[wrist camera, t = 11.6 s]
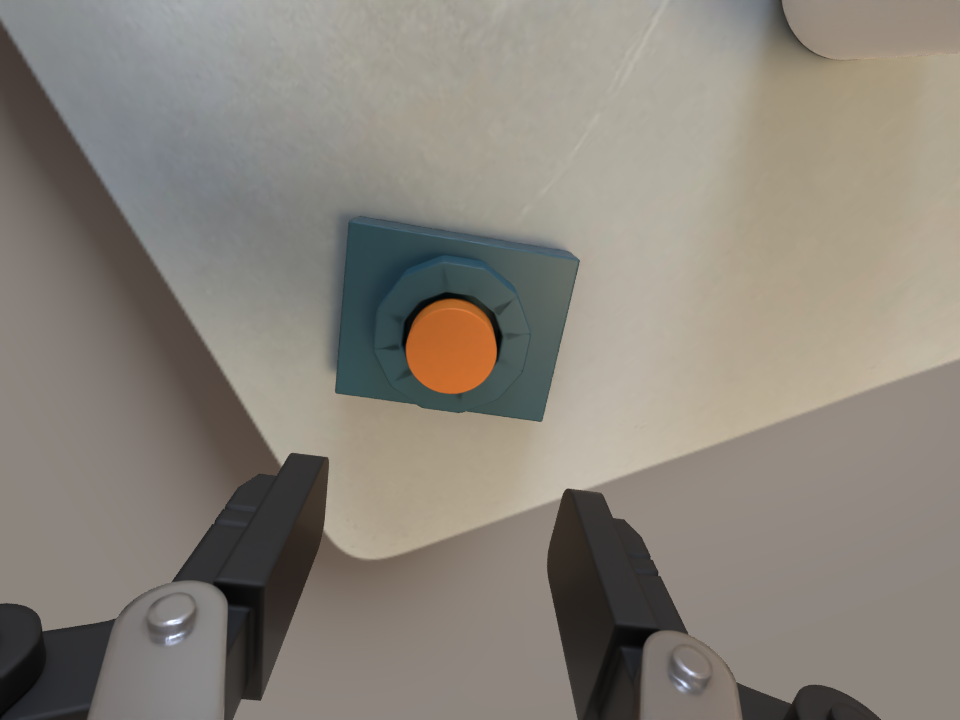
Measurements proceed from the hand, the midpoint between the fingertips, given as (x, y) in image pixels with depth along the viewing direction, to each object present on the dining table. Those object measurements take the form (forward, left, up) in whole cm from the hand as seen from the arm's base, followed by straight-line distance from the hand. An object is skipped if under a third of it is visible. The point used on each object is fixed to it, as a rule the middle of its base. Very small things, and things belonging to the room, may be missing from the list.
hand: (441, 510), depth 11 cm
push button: (0, 0, -12) cm, 12 cm away
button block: (0, 0, -15) cm, 15 cm away
